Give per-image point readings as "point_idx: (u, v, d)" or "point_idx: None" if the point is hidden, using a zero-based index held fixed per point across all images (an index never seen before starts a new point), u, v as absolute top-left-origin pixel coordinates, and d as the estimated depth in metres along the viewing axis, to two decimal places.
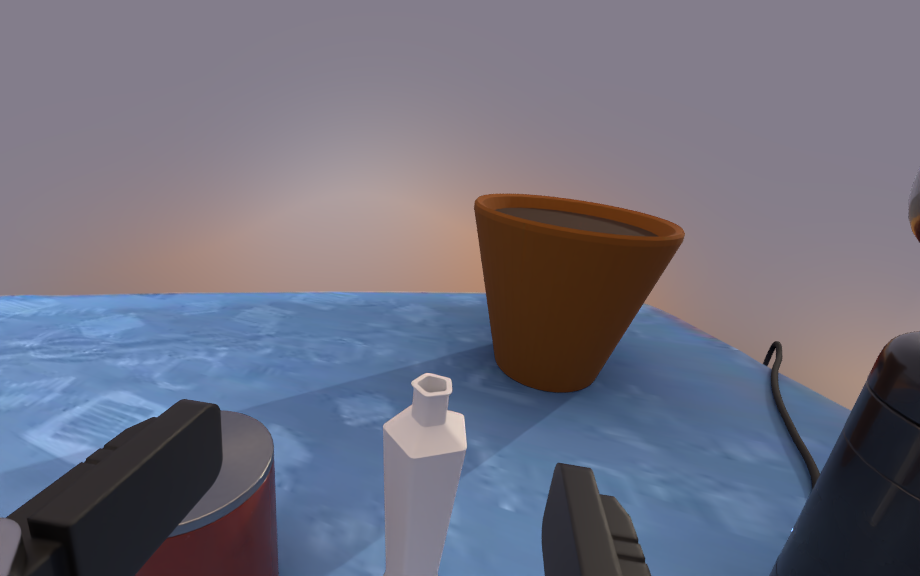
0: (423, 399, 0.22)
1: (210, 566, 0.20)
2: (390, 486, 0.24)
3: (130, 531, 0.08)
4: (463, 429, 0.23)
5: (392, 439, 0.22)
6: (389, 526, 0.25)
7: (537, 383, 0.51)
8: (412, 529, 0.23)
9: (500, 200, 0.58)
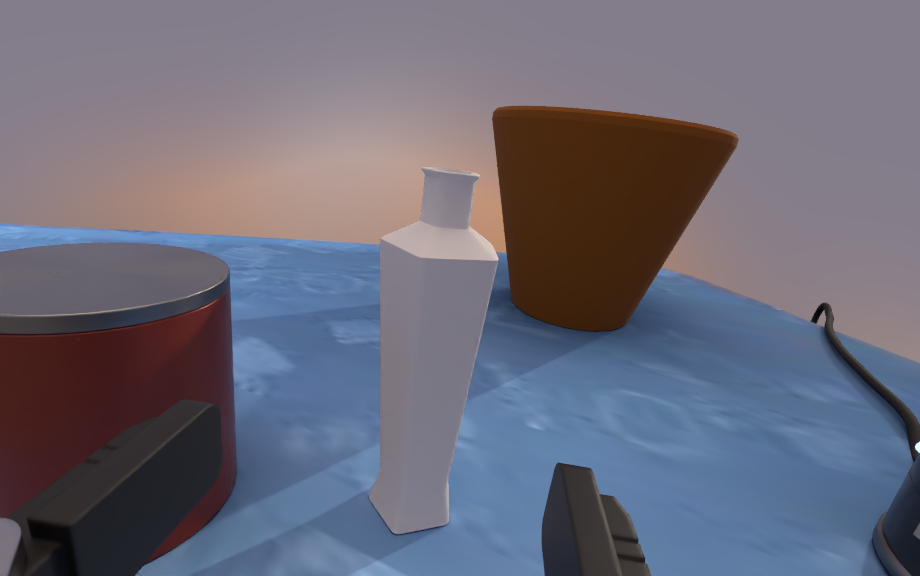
0: (438, 182, 0.15)
1: (118, 404, 0.14)
2: (388, 329, 0.17)
3: (130, 531, 0.08)
4: (492, 248, 0.17)
5: (393, 248, 0.16)
6: (386, 395, 0.18)
7: (562, 319, 0.44)
8: (418, 384, 0.16)
9: None
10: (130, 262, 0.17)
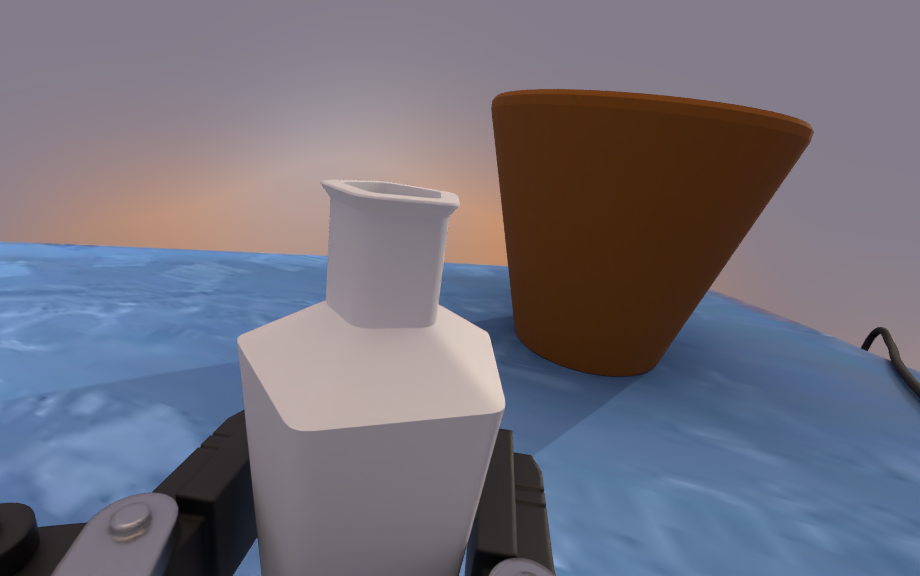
0: (355, 219, 0.06)
1: None
2: (263, 530, 0.08)
3: (248, 509, 0.09)
4: (490, 358, 0.08)
5: (253, 372, 0.07)
6: None
7: (580, 361, 0.35)
8: None
9: None
10: None
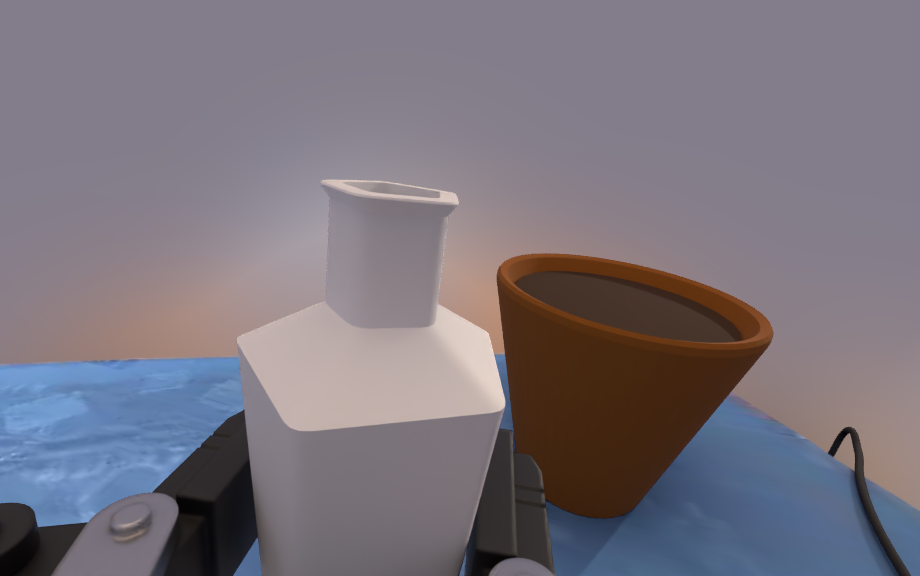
0: (354, 219, 0.06)
1: None
2: (263, 530, 0.08)
3: (248, 509, 0.09)
4: (490, 358, 0.08)
5: (252, 372, 0.07)
6: None
7: (573, 506, 0.40)
8: None
9: (527, 263, 0.47)
10: None
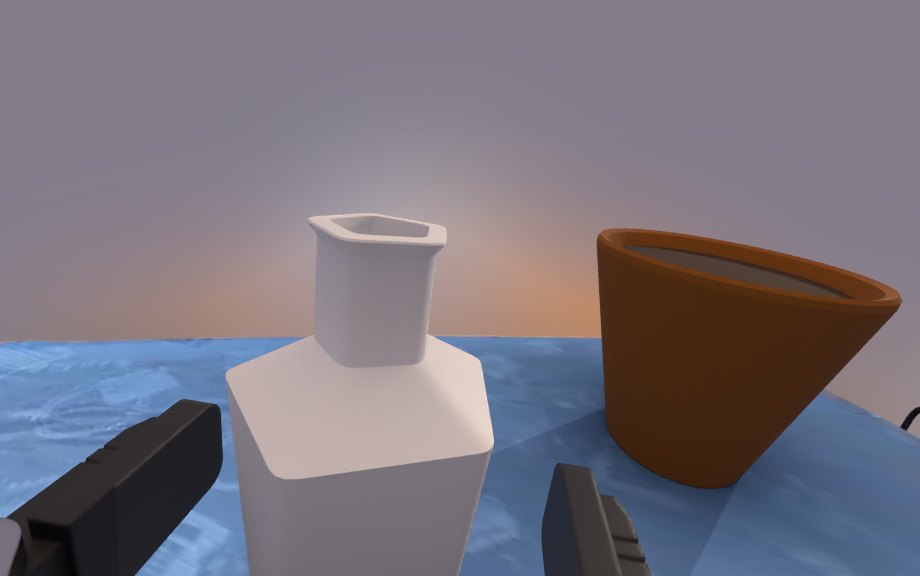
0: (340, 260, 0.06)
1: None
2: (254, 563, 0.08)
3: (130, 531, 0.08)
4: (480, 390, 0.08)
5: (240, 411, 0.07)
6: None
7: (682, 476, 0.39)
8: None
9: (616, 237, 0.47)
10: None
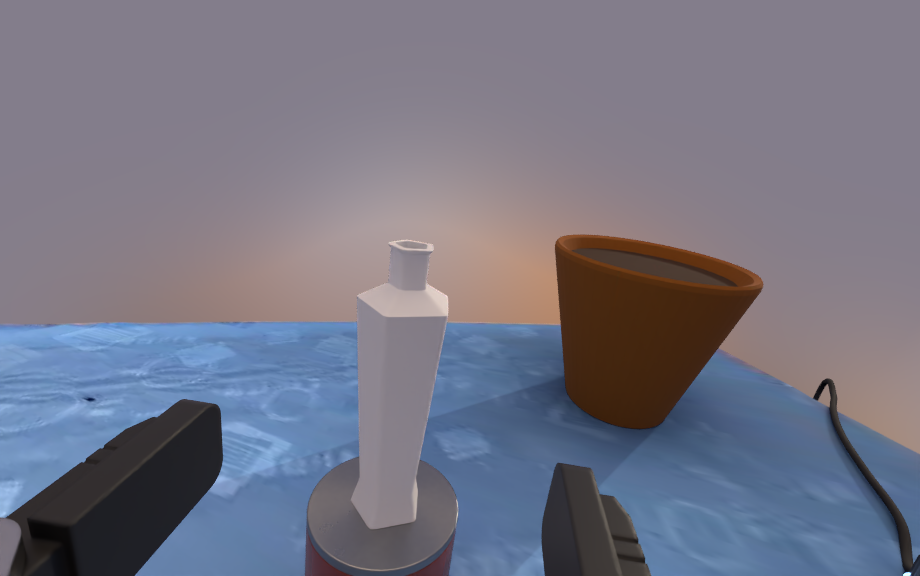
0: (400, 256, 0.20)
1: None
2: (364, 366, 0.21)
3: (130, 531, 0.08)
4: (446, 303, 0.21)
5: (366, 305, 0.20)
6: (363, 418, 0.22)
7: (616, 419, 0.53)
8: (387, 411, 0.21)
9: (573, 241, 0.61)
10: None
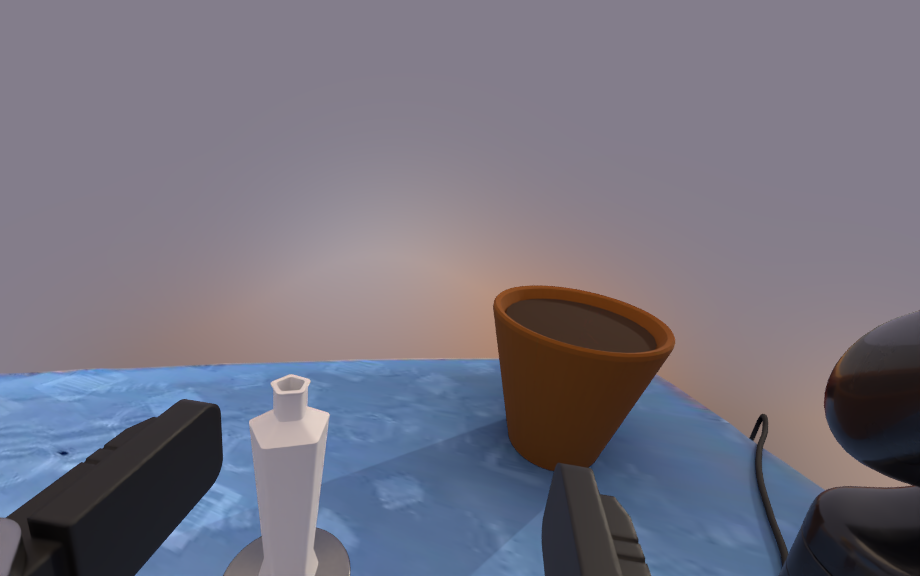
0: (277, 397, 0.25)
1: None
2: (257, 476, 0.26)
3: (130, 531, 0.08)
4: (322, 425, 0.26)
5: (253, 432, 0.25)
6: (260, 514, 0.27)
7: (546, 464, 0.58)
8: (273, 515, 0.26)
9: (515, 294, 0.66)
10: None
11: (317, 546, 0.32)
